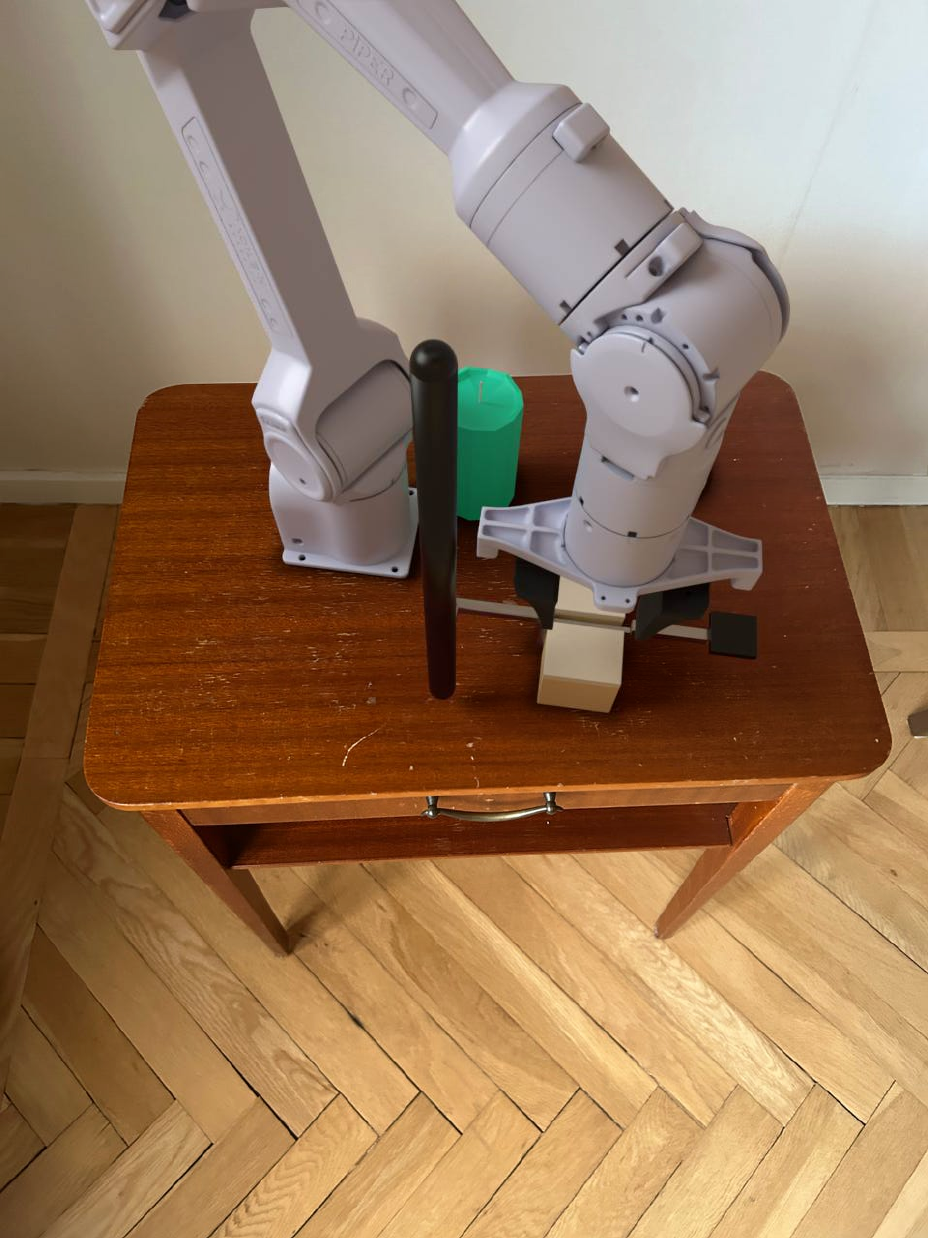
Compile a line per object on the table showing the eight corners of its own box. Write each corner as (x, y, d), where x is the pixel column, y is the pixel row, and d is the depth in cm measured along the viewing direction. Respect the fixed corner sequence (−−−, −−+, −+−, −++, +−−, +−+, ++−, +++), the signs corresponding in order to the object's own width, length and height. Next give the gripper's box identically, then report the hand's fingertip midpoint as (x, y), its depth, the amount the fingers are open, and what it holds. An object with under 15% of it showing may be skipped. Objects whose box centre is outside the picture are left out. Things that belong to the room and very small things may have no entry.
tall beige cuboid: (543, 640, 63) (550, 607, 58) (552, 558, 66) (559, 521, 62) (613, 649, 63) (625, 617, 58) (618, 566, 66) (630, 529, 61)
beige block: (536, 703, 61) (543, 674, 56) (542, 653, 62) (549, 620, 58) (608, 713, 60) (621, 684, 56) (612, 662, 62) (624, 630, 58)
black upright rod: (427, 708, 60) (404, 362, 31) (443, 614, 64) (435, 222, 34) (734, 749, 59) (1008, 430, 30) (733, 651, 62) (979, 278, 33)
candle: (507, 526, 67) (517, 423, 57) (431, 513, 68) (427, 408, 57) (520, 465, 70) (532, 356, 59) (447, 453, 71) (446, 342, 60)
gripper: (471, 539, 40) (466, 665, 52) (795, 579, 39) (714, 697, 51) (490, 419, 43) (482, 563, 55) (790, 453, 42) (714, 592, 54)
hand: (594, 621), depth 53 cm, fingers open, 5 cm apart
